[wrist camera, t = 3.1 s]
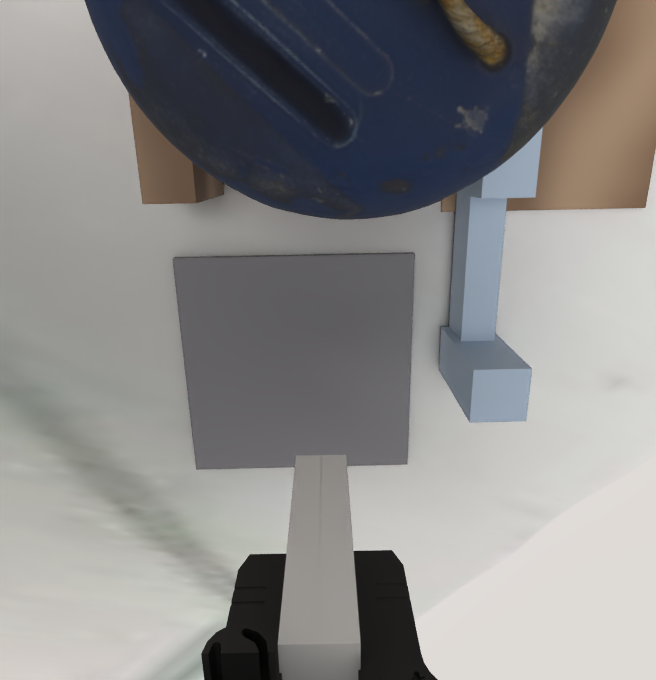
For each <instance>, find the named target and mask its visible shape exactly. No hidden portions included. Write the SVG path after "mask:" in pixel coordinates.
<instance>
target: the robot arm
mask: <svg viewBox="0 0 656 680" xmlns="http://www.w3.org/2000/svg"><path fill="white" fill-rule="evenodd" d="M201 655H202V663H203V671H204V680H437V679H436V678H435V677H434V676H433V675H432V674H431V673H430V672H429V670H428V668H427V667H426V665H425V664H424V661H423V658H422V655H421V652H420V646H419V642H418V637H417V631H416V627H415V621H414V616H413V611H412V606H411V601H410V596H409V591H408V586H407V581H406V576H405V572H404V567H403V564H402V563H401V562H400V560H399V559H398V558H397V556H396V555H395V554H394V552H393V551H392V550H382V551H353V538H352V525H351V512H350V499H349V486H348V473H347V460H346V455H309V456H296V462H295V472H294V482H293V493H292V503H291V513H290V523H289V534H288V544H287V554H250V555H249V556H248V558H247V559H246V560H245V562H244V563H243V564H242V566H241V567H240V568H239V570H238V574H237V579H236V583H235V591H234V593H233V597H232V605H231V607H230V611H229V616H228V621H227V626H226V628H224V629H222V630H220V631H218V632H216V633H215V634H214V635H213V636H212V637H211V638H210V639H209V640H208V641H207V643H206V645H205V647H204V649H203V652H202V654H201Z"/></svg>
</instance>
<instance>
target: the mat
mask: <svg viewBox="0 0 656 680" xmlns="http://www.w3.org/2000/svg"><path fill="white" fill-rule="evenodd" d="M414 259H415V254H414V253H364V254H315V255H266V256H216V257H174V258H173V267H174V275H175V284H176V293H177V302H178V311H179V320H180V329H181V338H182V347H183V355H184V364H185V373H186V382H187V391H188V400H189V409H190V418H191V427H192V436H193V444H194V453H195V462H196V469H237V468H278V467H295V462H296V456H309V455H346V460H347V466H361V465H403V464H407V459H408V430H409V402H410V373H411V345H412V316H413V288H414Z"/></svg>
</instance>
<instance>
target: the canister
mask: <svg viewBox="0 0 656 680" xmlns="http://www.w3.org/2000/svg"><path fill="white" fill-rule="evenodd" d="M616 2H617V0H85V3H86V6H87V8H88V11H89V14H90V17H91V20H92V23H93V25H94V27H95V30H96V32H97V34H98V37H99V39H100V41H101V43H102V45H103V48H104V50H105V52H106V54H107V56H108V58H109V60H110V62H111V63H112V65H113V67H114V69H115V71H116V72H117V74H118V76H119V77H120V79H121V81H122V83H123V84H124V86H125V87H126V89H127V90H128V92H129V93H130V95H131V96H132V98H133V99H134V101H135V102H136V104H137V105H138V106H139V108H140V109H141V110H142V112H143V113H144V114H145V115H146V117H147V118H148V119H149V120H150V121H151V122H152V124H153V125H154V126H155V127H156V128H157V129H158V130H159V131H160V132H161V133H162V134H163V135H164V137H165V138H166V139H167V140H168V141H169V142H170V143H171V144H172V145H173V146H175V147H176V148H177V149H178V150H179V151H180V152H181V153H183V154H184V155H185V156H186V157H187V158H188V159H189V160H191V161H192V162H193V163H194V164H195V165H197V166H198V167H200V168H201V169H203V170H204V171H206V172H207V173H208V174H210V175H211V176H213V177H214V178H216V179H217V180H219V181H221V182H223V183H224V184H226V185H228V186H230V187H232V188H233V189H235V190H237V191H239V192H241V193H243V194H245V195H246V196H248V197H250V198H252V199H254V200H256V201H259V202H261V203H263V204H265V205H268V206H271V207H274V208H277V209H281V210H285V211H290V212H294V213H299V214H303V215H309V216H315V217H321V218H330V219H368V218H377V217H384V216H391V215H397V214H402V213H406V212H410V211H413V210H417V209H420V208H423V207H426V206H429V205H431V204H433V203H436V202H438V201H440V200H442V199H444V198H446V197H448V196H450V195H452V194H454V193H456V192H458V191H460V190H462V189H464V188H466V187H468V186H470V185H472V184H473V183H475V182H477V181H478V180H480V179H481V178H483V177H484V176H486V175H488V174H489V173H491V172H492V171H494V170H496V169H497V168H498V167H499V166H501V165H502V164H503V163H505V162H506V161H507V160H509V159H510V158H511V157H512V156H513V155H514V154H516V153H517V152H518V151H519V150H520V149H521V148H522V147H524V146H525V145H526V144H527V143H528V142H529V141H530V140H531V139H532V138H533V137H534V136H535V135H536V134H537V133H538V132H539V130H540V129H541V128H542V127H543V126H544V125H545V124H546V123H547V122H548V121H549V120H550V118H551V117H552V116H553V115H554V113H555V112H556V111H557V109H558V108H559V107H560V105H561V104H562V103H563V101H564V100H565V99H566V97H567V96H568V94H569V93H570V92H571V90H572V89H573V88H574V86H575V85H576V83H577V81H578V80H579V78H580V77H581V75H582V73H583V72H584V70H585V68H586V67H587V65H588V63H589V62H590V60H591V58H592V56H593V55H594V53H595V51H596V49H597V47H598V45H599V43H600V41H601V39H602V37H603V35H604V32H605V30H606V27H607V25H608V23H609V20H610V18H611V15H612V13H613V10H614V7H615V5H616Z"/></svg>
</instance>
